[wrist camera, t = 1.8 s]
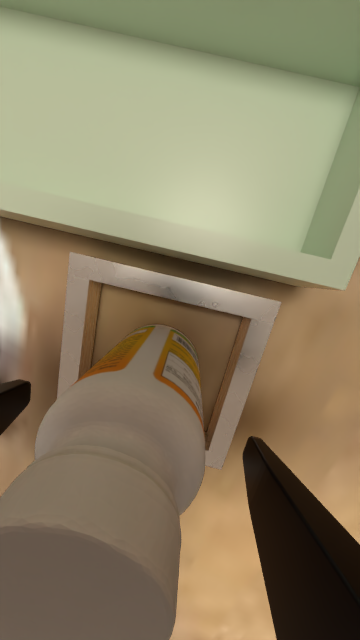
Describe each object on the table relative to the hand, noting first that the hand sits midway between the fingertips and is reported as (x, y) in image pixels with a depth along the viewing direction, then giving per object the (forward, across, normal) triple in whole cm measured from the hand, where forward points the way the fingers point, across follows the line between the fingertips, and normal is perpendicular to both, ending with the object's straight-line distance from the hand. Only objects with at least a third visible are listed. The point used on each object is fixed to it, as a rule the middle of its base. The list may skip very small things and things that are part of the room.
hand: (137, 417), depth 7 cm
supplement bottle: (+5, 0, 0) cm, 5 cm away
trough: (+5, +4, -11) cm, 13 cm away
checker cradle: (+5, 0, 0) cm, 5 cm away
